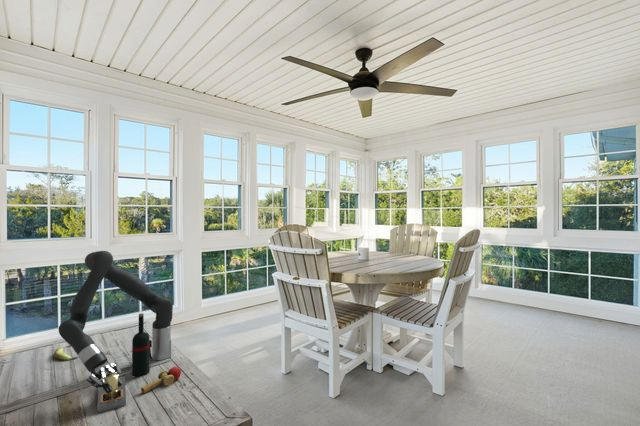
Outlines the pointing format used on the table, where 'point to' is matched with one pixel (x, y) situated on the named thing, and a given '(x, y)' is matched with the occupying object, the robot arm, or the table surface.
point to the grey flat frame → (114, 402)
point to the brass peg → (112, 386)
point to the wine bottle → (141, 351)
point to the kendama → (164, 378)
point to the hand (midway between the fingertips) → (115, 388)
